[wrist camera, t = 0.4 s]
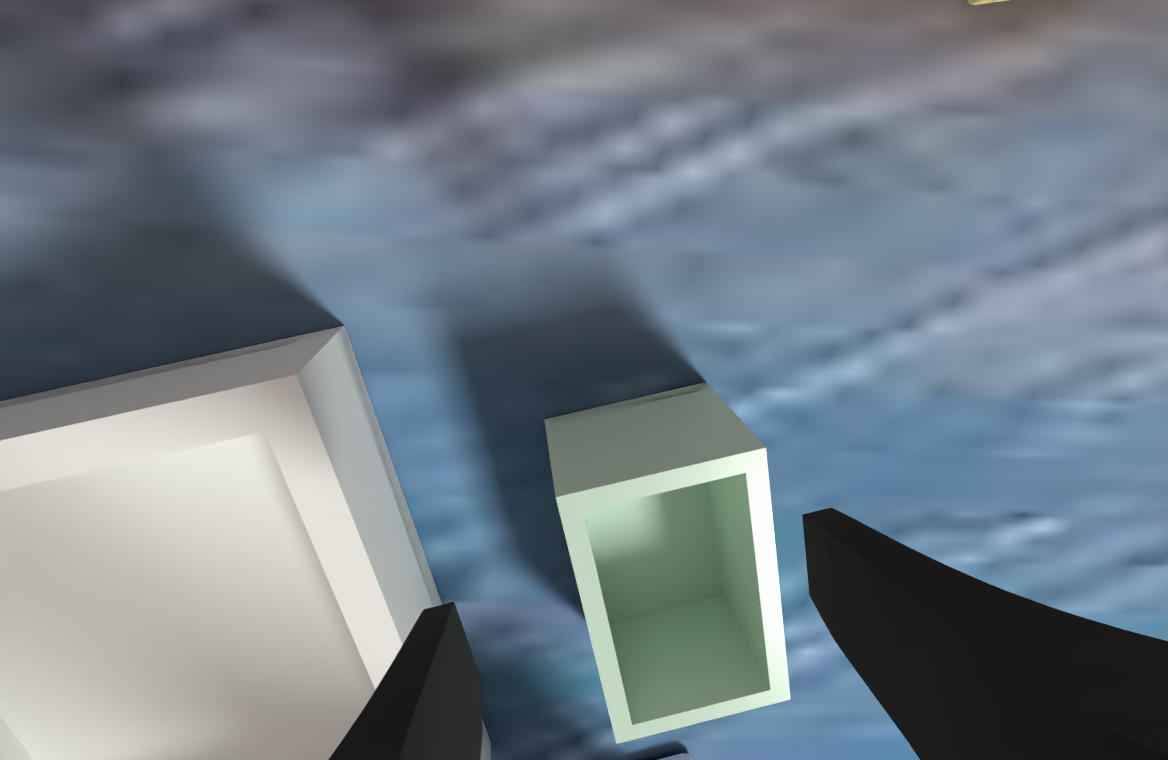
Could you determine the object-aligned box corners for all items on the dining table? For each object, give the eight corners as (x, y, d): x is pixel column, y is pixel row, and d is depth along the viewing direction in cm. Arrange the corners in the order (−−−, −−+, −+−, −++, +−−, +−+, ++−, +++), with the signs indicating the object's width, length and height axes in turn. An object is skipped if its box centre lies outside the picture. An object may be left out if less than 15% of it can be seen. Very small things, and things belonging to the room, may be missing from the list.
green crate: (734, 593, 24) (790, 699, 19) (594, 627, 23) (616, 743, 19) (706, 382, 20) (765, 447, 16) (544, 419, 20) (555, 497, 16)
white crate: (490, 742, 25) (487, 862, 21) (94, 843, 24) (8, 987, 20) (344, 325, 18) (296, 374, 14) (-201, 445, 18) (-421, 534, 13)
